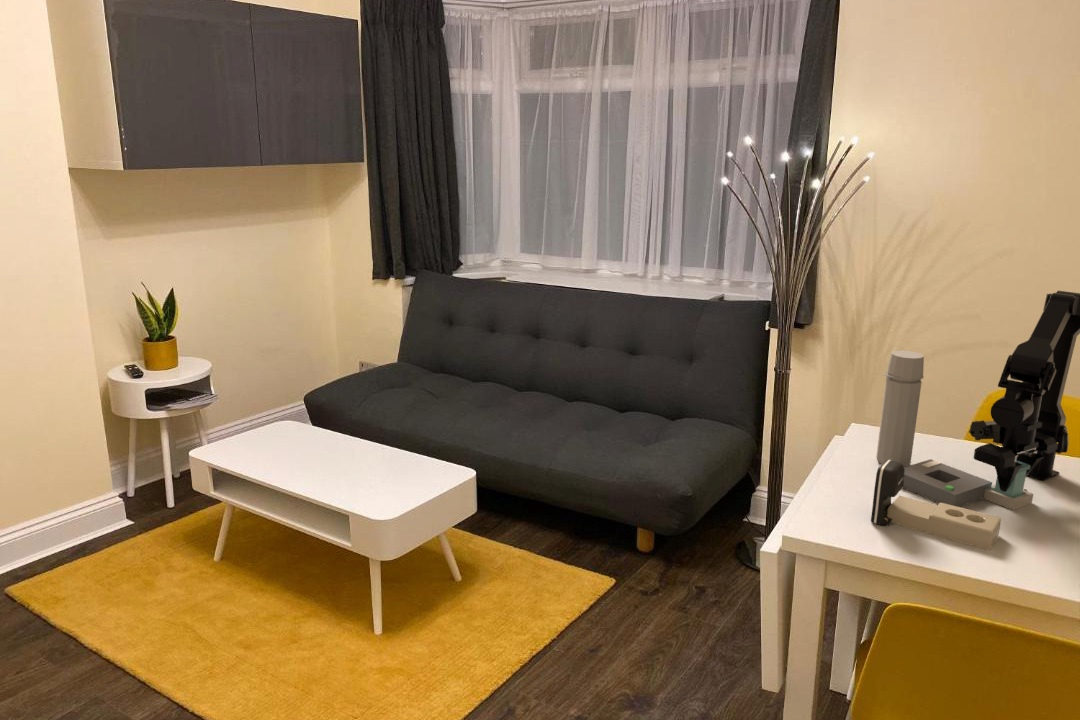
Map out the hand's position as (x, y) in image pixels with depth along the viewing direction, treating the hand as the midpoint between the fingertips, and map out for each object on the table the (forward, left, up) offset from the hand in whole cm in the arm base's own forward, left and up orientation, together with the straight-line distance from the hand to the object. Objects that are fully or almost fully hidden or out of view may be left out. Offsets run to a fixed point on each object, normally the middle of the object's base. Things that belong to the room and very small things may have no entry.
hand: (1009, 488), depth 173 cm
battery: (+29, -7, -3) cm, 30 cm away
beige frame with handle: (-2, 0, -2) cm, 3 cm away
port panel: (+7, -10, -2) cm, 12 cm away
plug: (0, 0, -2) cm, 2 cm away
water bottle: (+3, -25, -3) cm, 25 cm away
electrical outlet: (+22, +1, -3) cm, 23 cm away
